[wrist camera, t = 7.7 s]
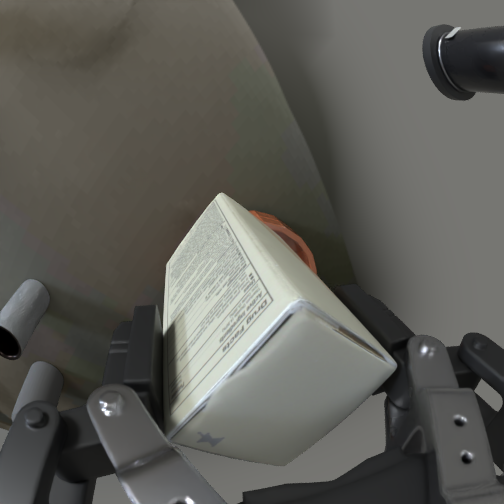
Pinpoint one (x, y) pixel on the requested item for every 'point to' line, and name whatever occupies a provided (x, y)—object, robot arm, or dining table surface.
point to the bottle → (40, 386)
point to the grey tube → (22, 317)
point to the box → (257, 344)
